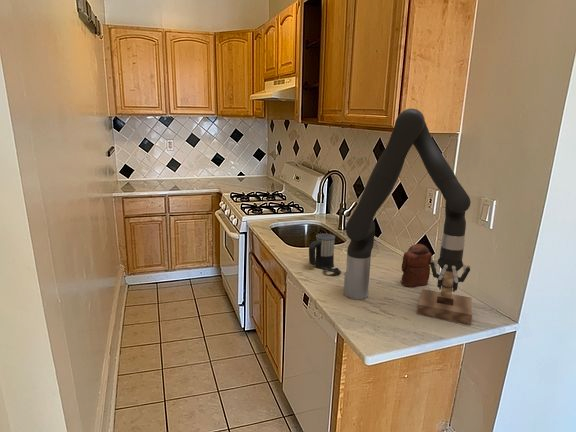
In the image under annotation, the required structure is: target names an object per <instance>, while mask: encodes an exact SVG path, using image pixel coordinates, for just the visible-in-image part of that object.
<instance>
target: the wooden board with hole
mask: <svg viewBox="0 0 576 432" xmlns="http://www.w3.org/2000/svg"><path fill="white" fill-rule="evenodd" d="M472 299H473V298H472V296H471V297H470V296H463V295H460V294H453V293H452V296H451V297H450V298H447V297H443V296H442V295H441V291H436V290H432V289H427V288H421V290H420V294H419V297H418V302H417V309H416V315H418V316H419V315H420V316H423V317H429V318H434V319H439V320H443V321H449V322H452V323H459V324H464V325H467V326H471V325H472V318H473V304H472V303H473V302H472V301H473V300H472Z"/></svg>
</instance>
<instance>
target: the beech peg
mask: <svg viewBox="0 0 576 432" xmlns="http://www.w3.org/2000/svg"><path fill="white" fill-rule="evenodd" d="M453 285H454V276H453V272H451V271H445V273H444V275H443V277H442V285H441V289H440V290H441V291H440V292H441V295H442V296H443V297H447V298H450V297H451V296H452V294H453Z"/></svg>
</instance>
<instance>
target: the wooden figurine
mask: <svg viewBox="0 0 576 432" xmlns="http://www.w3.org/2000/svg"><path fill="white" fill-rule="evenodd" d="M432 257H433V256H432V253H431V252H430V249H429V248H428V247H427V246H426V245H425V244H422V243H415V244H412V245H411V246H409V248H408V249H407V251H406V252H404V254H403V257H402V264H401V271H402V277H401V281H400V283H401V284H400V285H403V287H408V288H410V287H411V288H415V287H420V286H426V285H427V284H428V282H429V280H430V275H431V266H430V262H431V260H433V259H432Z"/></svg>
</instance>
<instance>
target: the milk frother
mask: <svg viewBox="0 0 576 432" xmlns="http://www.w3.org/2000/svg"><path fill="white" fill-rule="evenodd" d="M315 237H316V240H313V241H312V242H311V243H310V244H309V246H308V260H309V261H308V263H309V264H310V265H312V266H315V268H318V269H322V270H326V271H329V272H332V273H334V274H335V275H338V273H339V274H341V273H342V271H341V270H340V269H339V267H334V266H335V264H334V260H335V259H334V258H335V257H334V255H335V239H336V235H334V234H332V233H331V234H330V233H318V234H316V235H315Z"/></svg>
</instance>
